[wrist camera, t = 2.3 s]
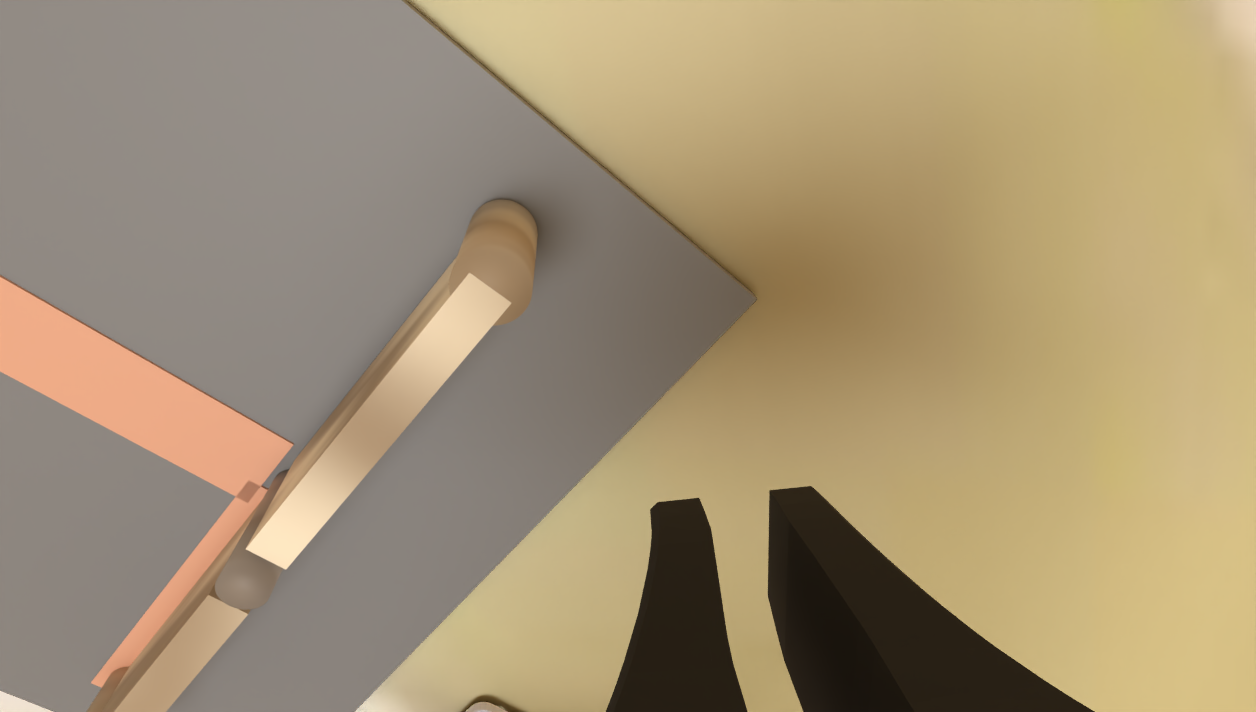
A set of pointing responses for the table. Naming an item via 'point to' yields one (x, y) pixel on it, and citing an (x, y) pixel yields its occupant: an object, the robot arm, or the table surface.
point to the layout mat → (289, 330)
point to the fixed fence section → (196, 624)
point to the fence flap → (405, 375)
